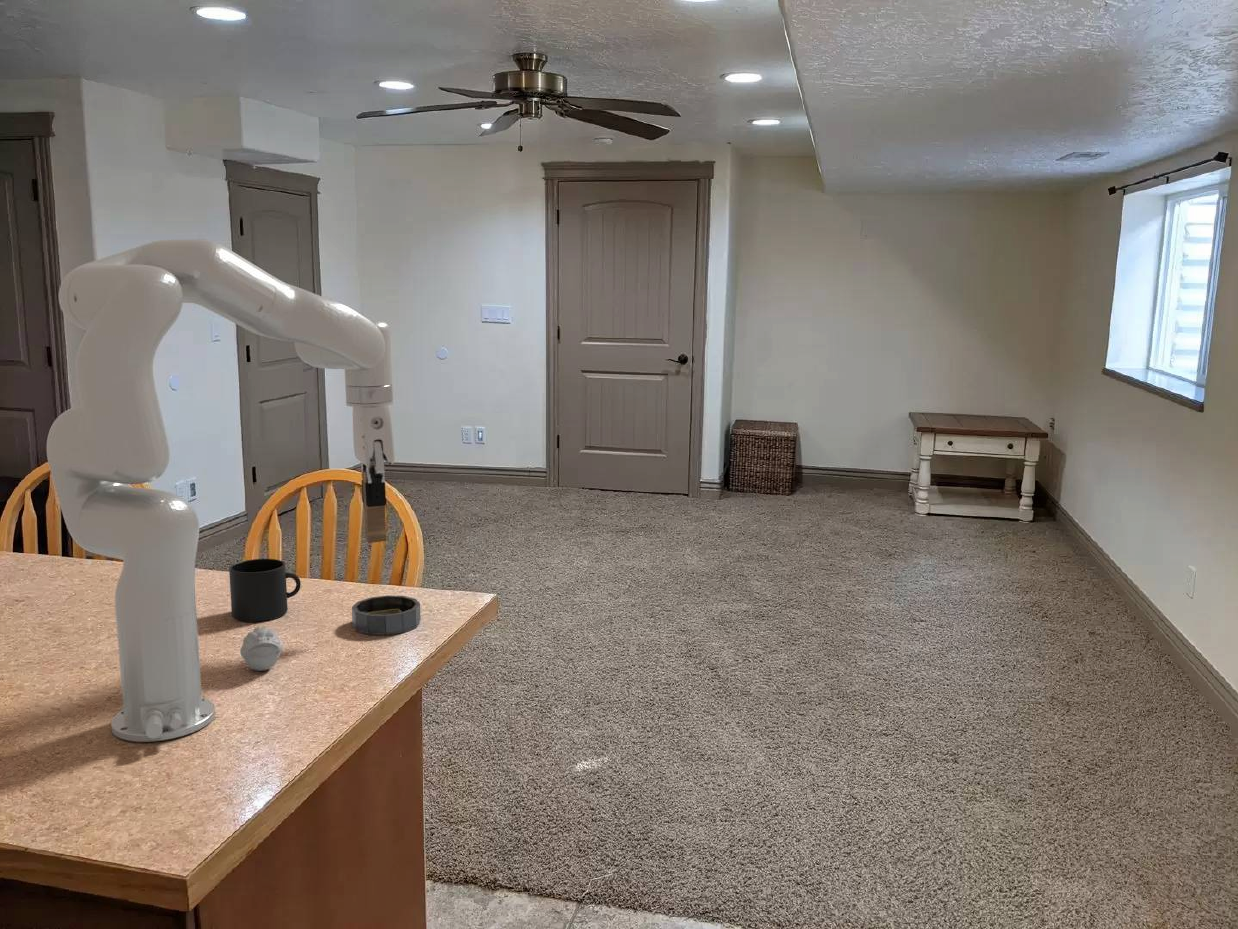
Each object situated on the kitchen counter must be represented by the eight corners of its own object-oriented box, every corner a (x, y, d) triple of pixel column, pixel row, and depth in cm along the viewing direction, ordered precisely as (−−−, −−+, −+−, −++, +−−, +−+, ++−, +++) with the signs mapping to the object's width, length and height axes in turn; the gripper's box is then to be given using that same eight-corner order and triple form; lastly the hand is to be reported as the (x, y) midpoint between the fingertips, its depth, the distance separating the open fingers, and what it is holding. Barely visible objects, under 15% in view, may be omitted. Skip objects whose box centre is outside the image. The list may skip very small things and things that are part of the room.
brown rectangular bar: (386, 540, 165) (383, 471, 163) (368, 543, 163) (365, 473, 161) (383, 537, 167) (379, 469, 165) (365, 539, 166) (362, 470, 163)
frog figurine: (243, 681, 144) (240, 636, 143) (239, 665, 151) (237, 622, 149) (286, 675, 147) (284, 631, 146) (280, 659, 153) (278, 617, 152)
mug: (307, 616, 174) (305, 567, 172) (235, 626, 168) (232, 575, 167) (296, 601, 182) (294, 554, 181) (228, 610, 176) (225, 562, 175)
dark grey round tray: (426, 630, 167) (426, 610, 167) (361, 639, 162) (360, 619, 162) (410, 611, 177) (410, 592, 177) (347, 619, 172) (347, 600, 172)
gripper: (403, 399, 155) (408, 512, 159) (381, 389, 169) (385, 493, 173) (356, 402, 152) (361, 516, 155) (337, 391, 166) (342, 497, 169)
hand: (374, 503), depth 164 cm, fingers closed on brown rectangular bar, 2 cm apart
